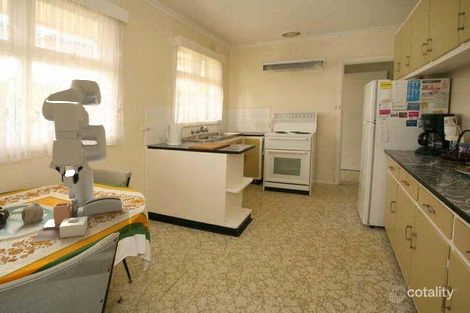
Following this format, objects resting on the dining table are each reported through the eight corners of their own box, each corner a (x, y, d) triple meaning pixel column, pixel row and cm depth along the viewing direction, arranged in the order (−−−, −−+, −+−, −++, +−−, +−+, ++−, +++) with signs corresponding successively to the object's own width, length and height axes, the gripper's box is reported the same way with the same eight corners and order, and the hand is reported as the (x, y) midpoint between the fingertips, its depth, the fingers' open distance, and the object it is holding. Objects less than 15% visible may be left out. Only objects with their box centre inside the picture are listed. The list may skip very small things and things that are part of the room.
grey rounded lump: (32, 225, 120) (32, 203, 122) (50, 223, 120) (50, 200, 121) (13, 227, 111) (14, 203, 113) (33, 225, 110) (33, 200, 112)
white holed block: (65, 229, 108) (64, 218, 108) (87, 226, 111) (86, 216, 110) (60, 237, 101) (59, 226, 100) (84, 235, 104) (83, 224, 103)
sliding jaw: (58, 219, 115) (56, 202, 114) (73, 217, 117) (72, 201, 116) (54, 224, 109) (52, 207, 108) (70, 223, 111) (68, 206, 110)
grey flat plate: (47, 224, 116) (47, 221, 115) (91, 220, 122) (91, 217, 121) (30, 246, 97) (30, 242, 97) (84, 239, 103) (83, 236, 103)
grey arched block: (121, 209, 136) (122, 193, 132) (123, 215, 133) (123, 198, 128) (84, 214, 128) (83, 197, 124) (84, 221, 125) (83, 203, 120)
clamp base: (49, 222, 115) (47, 199, 113) (88, 218, 120) (87, 196, 118) (43, 229, 107) (41, 205, 106) (85, 225, 113) (84, 202, 111)
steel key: (69, 194, 107) (67, 170, 105) (78, 194, 108) (76, 170, 106) (65, 201, 100) (62, 176, 98) (74, 201, 101) (72, 175, 99)
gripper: (93, 134, 106) (95, 179, 109) (44, 134, 101) (48, 182, 104) (90, 136, 100) (93, 184, 102) (38, 136, 94) (42, 187, 97)
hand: (70, 183), depth 103 cm, fingers closed on steel key, 2 cm apart
